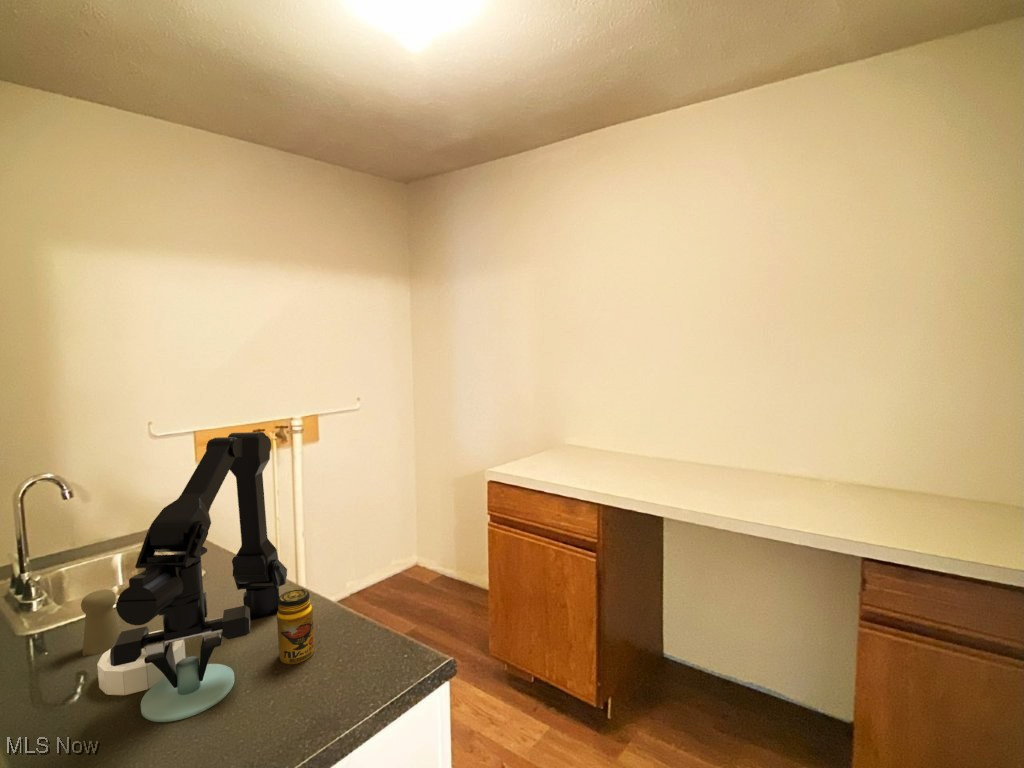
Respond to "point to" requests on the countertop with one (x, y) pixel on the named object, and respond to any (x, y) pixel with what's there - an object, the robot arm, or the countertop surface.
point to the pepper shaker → (99, 622)
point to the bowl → (133, 672)
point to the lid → (187, 691)
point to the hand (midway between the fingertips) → (188, 683)
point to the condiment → (295, 626)
